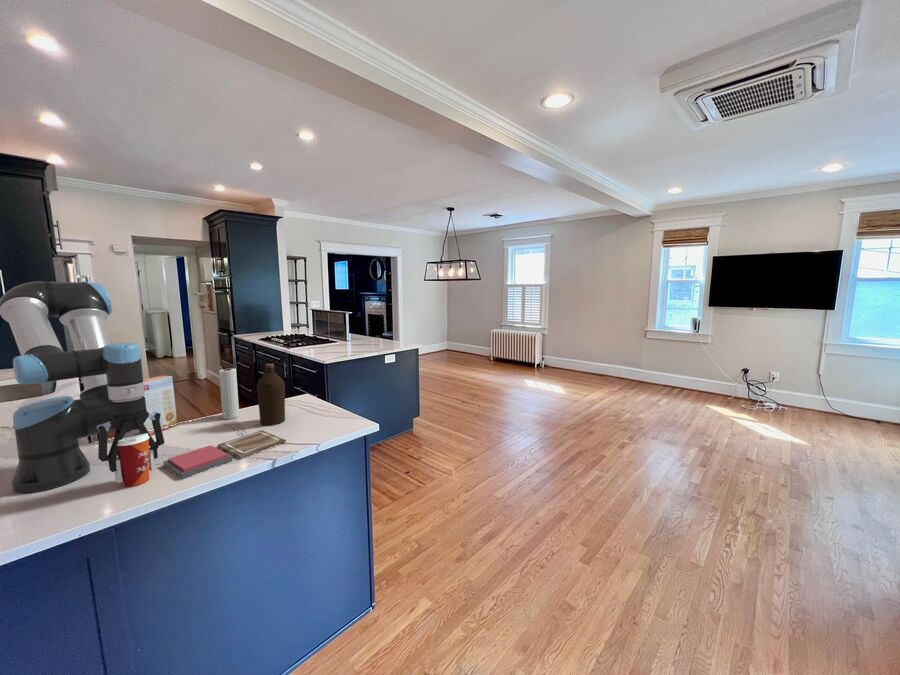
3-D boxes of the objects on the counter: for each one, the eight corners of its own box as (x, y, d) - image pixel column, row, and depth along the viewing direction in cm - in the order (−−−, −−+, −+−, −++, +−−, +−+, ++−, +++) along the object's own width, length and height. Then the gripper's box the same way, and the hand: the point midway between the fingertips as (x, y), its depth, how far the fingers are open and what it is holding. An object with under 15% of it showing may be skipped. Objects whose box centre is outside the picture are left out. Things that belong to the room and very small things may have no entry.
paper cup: (152, 483, 102) (147, 437, 100) (116, 492, 98) (110, 443, 96) (155, 472, 108) (151, 428, 106) (121, 479, 104) (116, 433, 102)
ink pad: (163, 466, 112) (163, 459, 112) (212, 450, 124) (212, 443, 123) (182, 479, 105) (181, 471, 104) (232, 460, 116) (232, 453, 116)
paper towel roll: (225, 420, 152) (221, 371, 149) (220, 417, 156) (217, 369, 153) (243, 416, 157) (240, 369, 154) (239, 413, 161) (235, 367, 158)
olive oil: (291, 421, 152) (288, 363, 149) (265, 428, 144) (262, 367, 140) (279, 415, 158) (276, 360, 155) (254, 422, 150) (250, 364, 147)
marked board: (217, 447, 126) (217, 444, 126) (262, 432, 139) (262, 429, 139) (240, 459, 117) (240, 455, 117) (285, 442, 130) (285, 439, 130)
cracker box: (166, 424, 147) (161, 374, 145) (178, 425, 146) (173, 375, 143) (129, 437, 134) (123, 383, 131) (142, 438, 133) (136, 384, 130)
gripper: (81, 410, 89) (92, 495, 92) (174, 392, 106) (181, 465, 109) (74, 404, 94) (84, 486, 97) (164, 388, 110) (171, 458, 113)
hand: (135, 475), depth 103 cm, fingers closed on paper cup, 7 cm apart
